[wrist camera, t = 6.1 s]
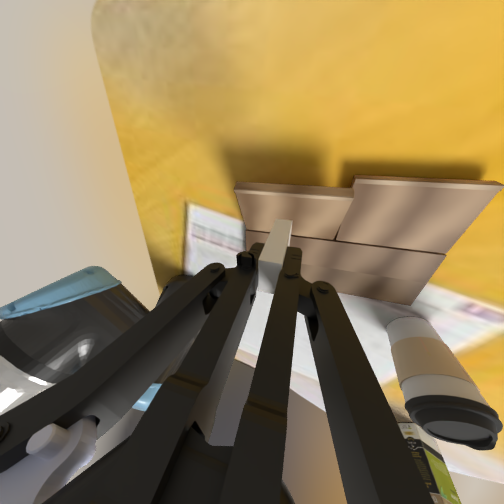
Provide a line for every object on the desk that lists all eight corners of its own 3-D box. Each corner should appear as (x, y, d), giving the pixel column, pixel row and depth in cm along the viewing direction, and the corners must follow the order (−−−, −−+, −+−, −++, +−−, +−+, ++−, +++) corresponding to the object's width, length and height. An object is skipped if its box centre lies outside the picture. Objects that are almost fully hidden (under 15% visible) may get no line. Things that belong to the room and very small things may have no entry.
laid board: (248, 271, 37) (246, 275, 36) (247, 227, 31) (245, 230, 30) (407, 300, 30) (410, 305, 30) (441, 250, 25) (446, 255, 24)
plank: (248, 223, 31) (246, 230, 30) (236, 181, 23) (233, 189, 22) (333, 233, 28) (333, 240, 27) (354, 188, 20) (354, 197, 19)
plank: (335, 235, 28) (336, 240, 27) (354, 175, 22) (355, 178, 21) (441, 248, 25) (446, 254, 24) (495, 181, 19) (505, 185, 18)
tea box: (383, 436, 61) (400, 509, 49) (363, 421, 59) (376, 494, 48) (436, 437, 52) (471, 527, 40) (415, 421, 51) (445, 510, 39)
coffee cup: (368, 330, 37) (395, 427, 25) (404, 305, 31) (459, 414, 19) (411, 349, 36) (459, 457, 24) (455, 326, 31) (544, 451, 19)
